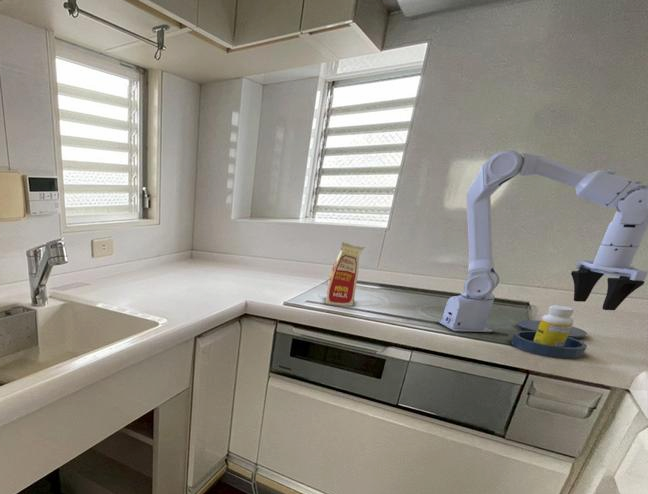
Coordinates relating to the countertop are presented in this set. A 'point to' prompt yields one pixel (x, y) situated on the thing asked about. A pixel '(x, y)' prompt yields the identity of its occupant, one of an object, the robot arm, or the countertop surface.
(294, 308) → the countertop surface
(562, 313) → the supplement bottle
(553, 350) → the pot
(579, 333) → the pot lid
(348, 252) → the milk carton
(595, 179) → the robot arm
